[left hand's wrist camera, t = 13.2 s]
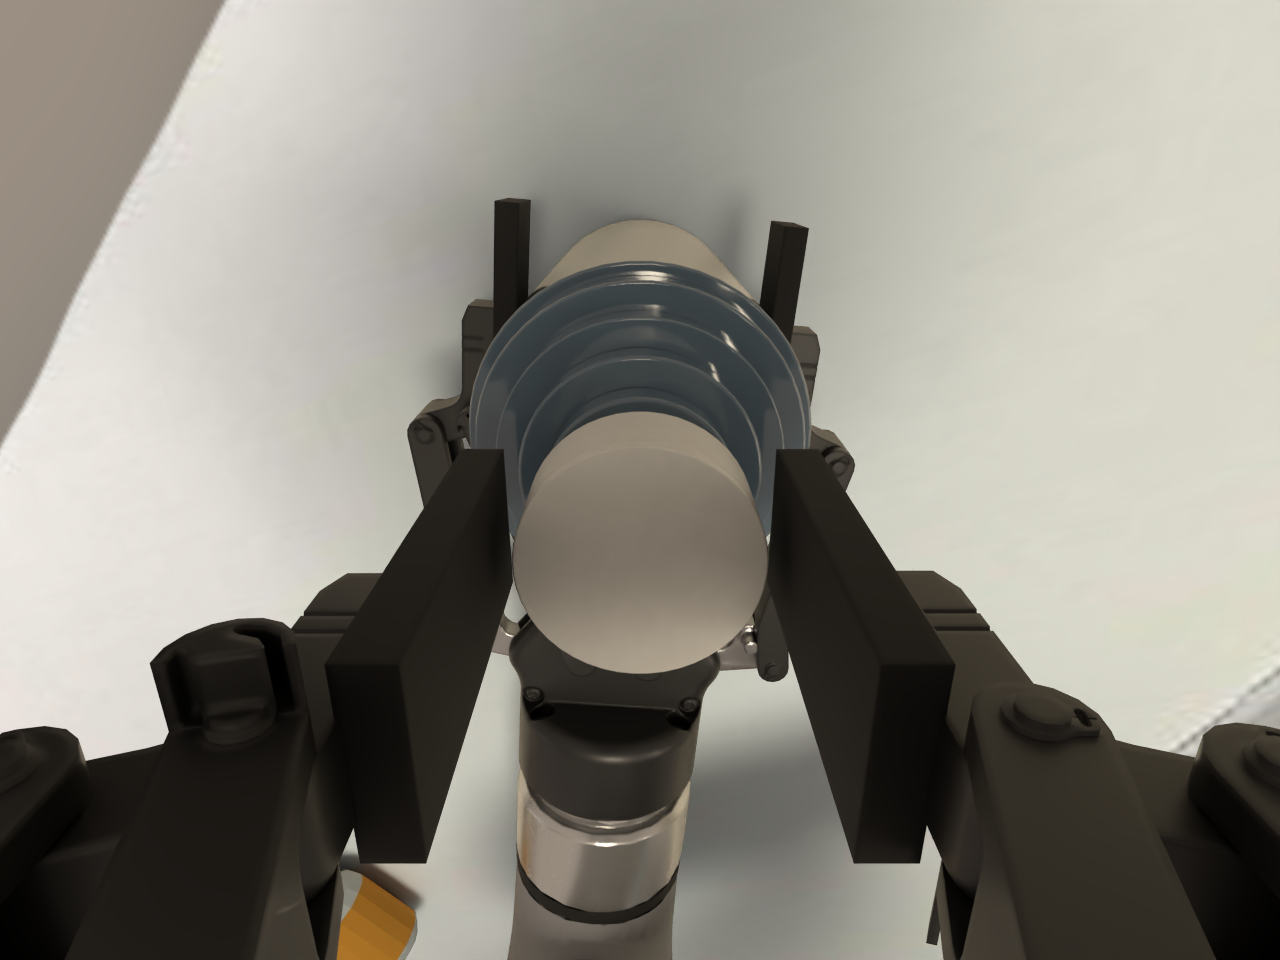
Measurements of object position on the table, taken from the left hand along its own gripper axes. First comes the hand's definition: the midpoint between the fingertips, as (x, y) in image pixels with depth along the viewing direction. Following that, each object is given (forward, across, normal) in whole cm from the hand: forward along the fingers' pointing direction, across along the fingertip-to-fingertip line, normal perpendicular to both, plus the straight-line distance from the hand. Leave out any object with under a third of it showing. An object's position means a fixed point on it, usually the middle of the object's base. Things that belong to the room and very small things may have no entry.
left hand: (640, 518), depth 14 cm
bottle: (+20, 0, 0) cm, 20 cm away
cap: (-2, 0, 0) cm, 2 cm away
